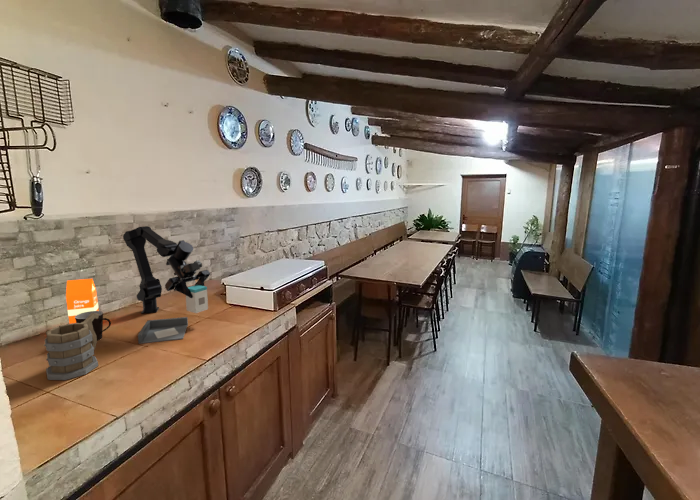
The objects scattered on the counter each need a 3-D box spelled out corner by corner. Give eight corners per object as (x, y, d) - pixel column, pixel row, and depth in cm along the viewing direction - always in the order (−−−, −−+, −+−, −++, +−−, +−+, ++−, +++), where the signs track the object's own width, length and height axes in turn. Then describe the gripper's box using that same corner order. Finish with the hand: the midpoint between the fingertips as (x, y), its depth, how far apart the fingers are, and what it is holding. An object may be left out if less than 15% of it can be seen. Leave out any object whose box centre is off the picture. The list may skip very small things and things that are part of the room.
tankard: (76, 381, 105) (70, 334, 103) (35, 379, 106) (28, 333, 103) (120, 350, 125) (116, 311, 122) (86, 349, 125) (81, 310, 123)
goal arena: (148, 328, 145) (147, 320, 144) (187, 324, 150) (187, 316, 149) (138, 343, 131) (137, 335, 130) (182, 339, 135) (182, 330, 135)
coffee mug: (73, 341, 132) (70, 316, 130) (98, 333, 140) (95, 309, 138) (89, 348, 127) (86, 322, 125) (114, 339, 134) (112, 314, 133)
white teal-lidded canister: (186, 310, 147) (185, 287, 145) (198, 306, 152) (197, 284, 151) (196, 313, 144) (194, 290, 142) (208, 309, 149) (207, 286, 148)
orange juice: (75, 323, 149) (69, 278, 145) (100, 320, 153) (95, 276, 149) (69, 330, 142) (63, 282, 138) (96, 327, 146) (90, 280, 142)
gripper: (167, 258, 138) (187, 290, 135) (206, 251, 154) (225, 279, 151) (156, 275, 143) (175, 305, 140) (195, 267, 159) (213, 294, 156)
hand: (198, 295), depth 146 cm, fingers closed on white teal-lidded canister, 6 cm apart
